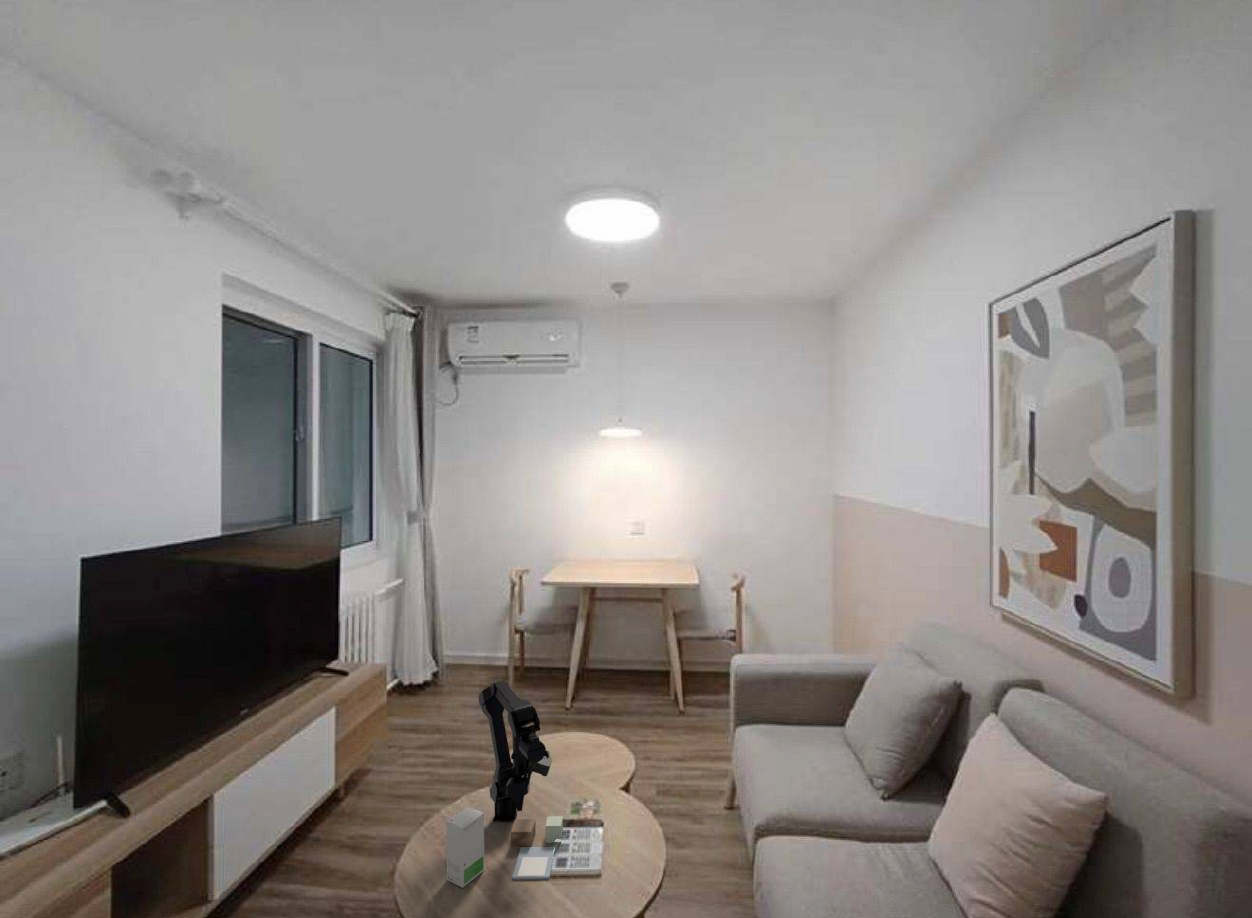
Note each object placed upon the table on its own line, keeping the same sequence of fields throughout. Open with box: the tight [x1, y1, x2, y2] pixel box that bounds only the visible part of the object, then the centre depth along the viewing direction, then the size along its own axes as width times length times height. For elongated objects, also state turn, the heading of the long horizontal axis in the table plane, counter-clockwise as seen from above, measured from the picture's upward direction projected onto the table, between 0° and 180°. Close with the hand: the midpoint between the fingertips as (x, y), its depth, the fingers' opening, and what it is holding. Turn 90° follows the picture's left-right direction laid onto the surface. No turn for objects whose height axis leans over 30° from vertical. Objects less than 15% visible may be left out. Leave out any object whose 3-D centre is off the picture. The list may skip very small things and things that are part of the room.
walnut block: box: [510, 818, 537, 848], centre depth 167 cm, size 6×6×4 cm
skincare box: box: [445, 806, 485, 888], centre depth 153 cm, size 8×7×16 cm
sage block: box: [544, 815, 564, 844], centre depth 168 cm, size 5×5×5 cm
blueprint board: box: [511, 846, 554, 881], centre depth 157 cm, size 10×12×1 cm
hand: (523, 801), depth 167 cm, fingers open, 9 cm apart
